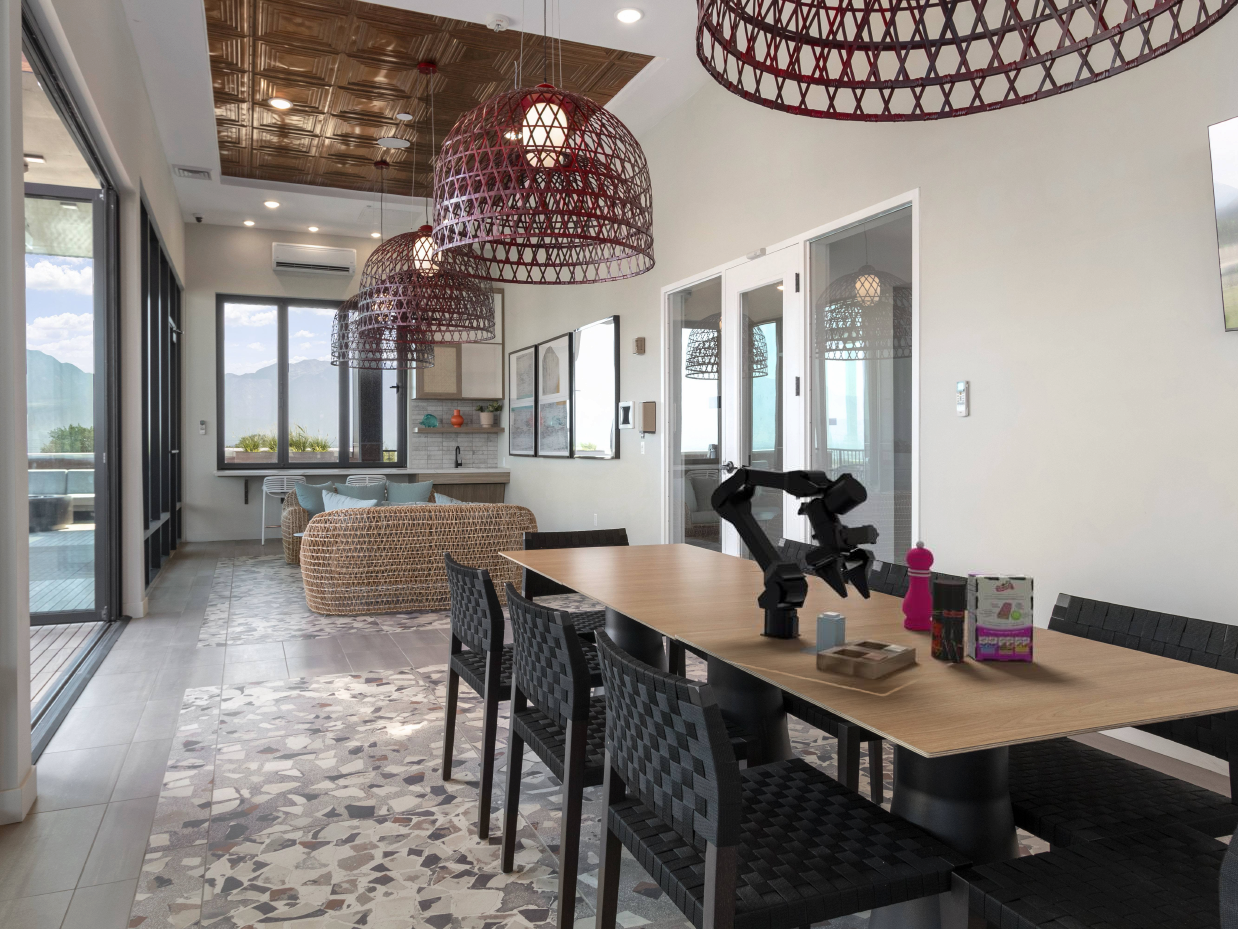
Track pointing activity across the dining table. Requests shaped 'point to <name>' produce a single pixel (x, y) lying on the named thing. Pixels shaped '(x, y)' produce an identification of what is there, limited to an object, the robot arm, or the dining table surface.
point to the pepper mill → (918, 589)
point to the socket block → (866, 658)
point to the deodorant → (948, 620)
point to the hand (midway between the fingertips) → (856, 598)
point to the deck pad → (810, 651)
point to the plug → (830, 631)
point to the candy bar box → (1000, 617)
